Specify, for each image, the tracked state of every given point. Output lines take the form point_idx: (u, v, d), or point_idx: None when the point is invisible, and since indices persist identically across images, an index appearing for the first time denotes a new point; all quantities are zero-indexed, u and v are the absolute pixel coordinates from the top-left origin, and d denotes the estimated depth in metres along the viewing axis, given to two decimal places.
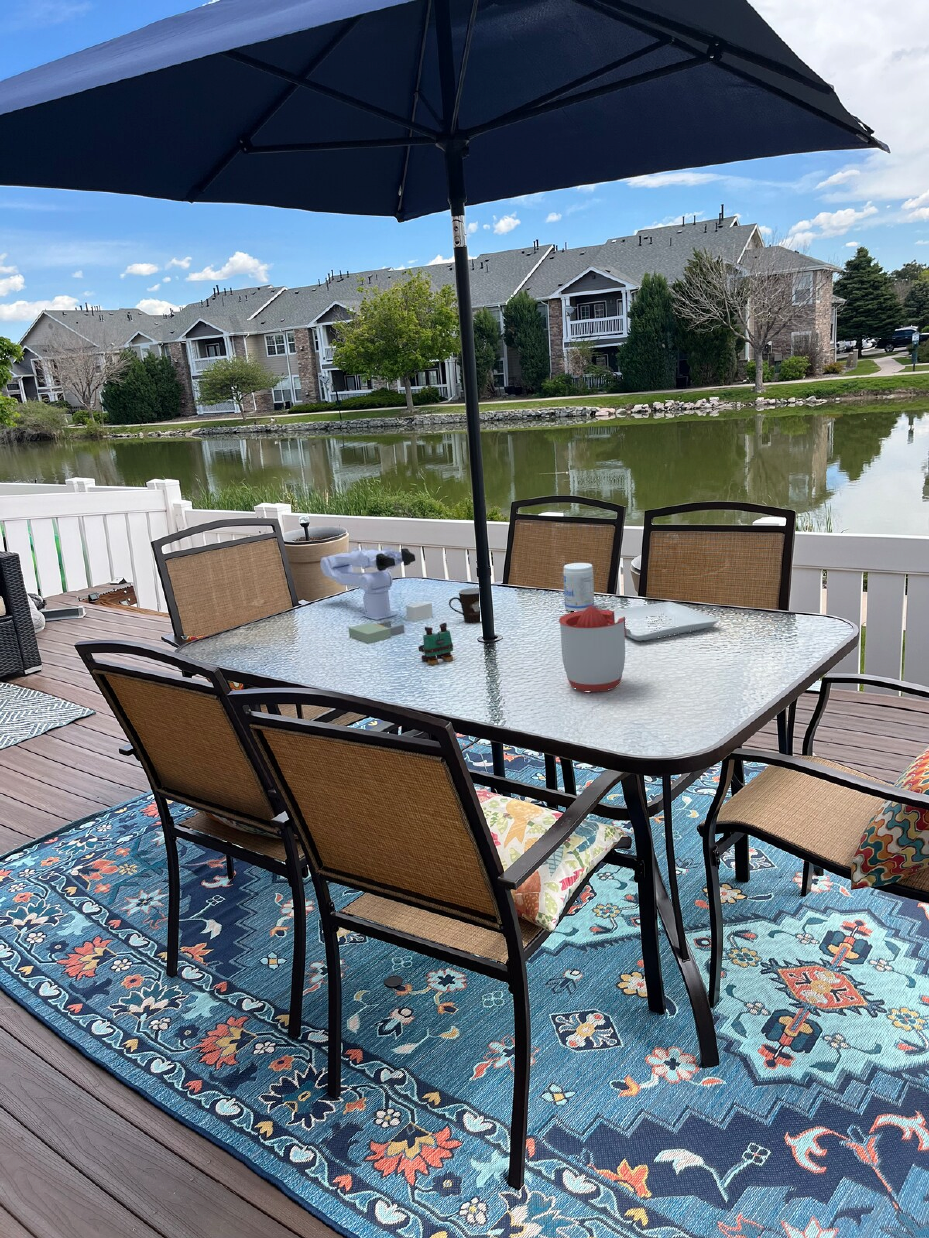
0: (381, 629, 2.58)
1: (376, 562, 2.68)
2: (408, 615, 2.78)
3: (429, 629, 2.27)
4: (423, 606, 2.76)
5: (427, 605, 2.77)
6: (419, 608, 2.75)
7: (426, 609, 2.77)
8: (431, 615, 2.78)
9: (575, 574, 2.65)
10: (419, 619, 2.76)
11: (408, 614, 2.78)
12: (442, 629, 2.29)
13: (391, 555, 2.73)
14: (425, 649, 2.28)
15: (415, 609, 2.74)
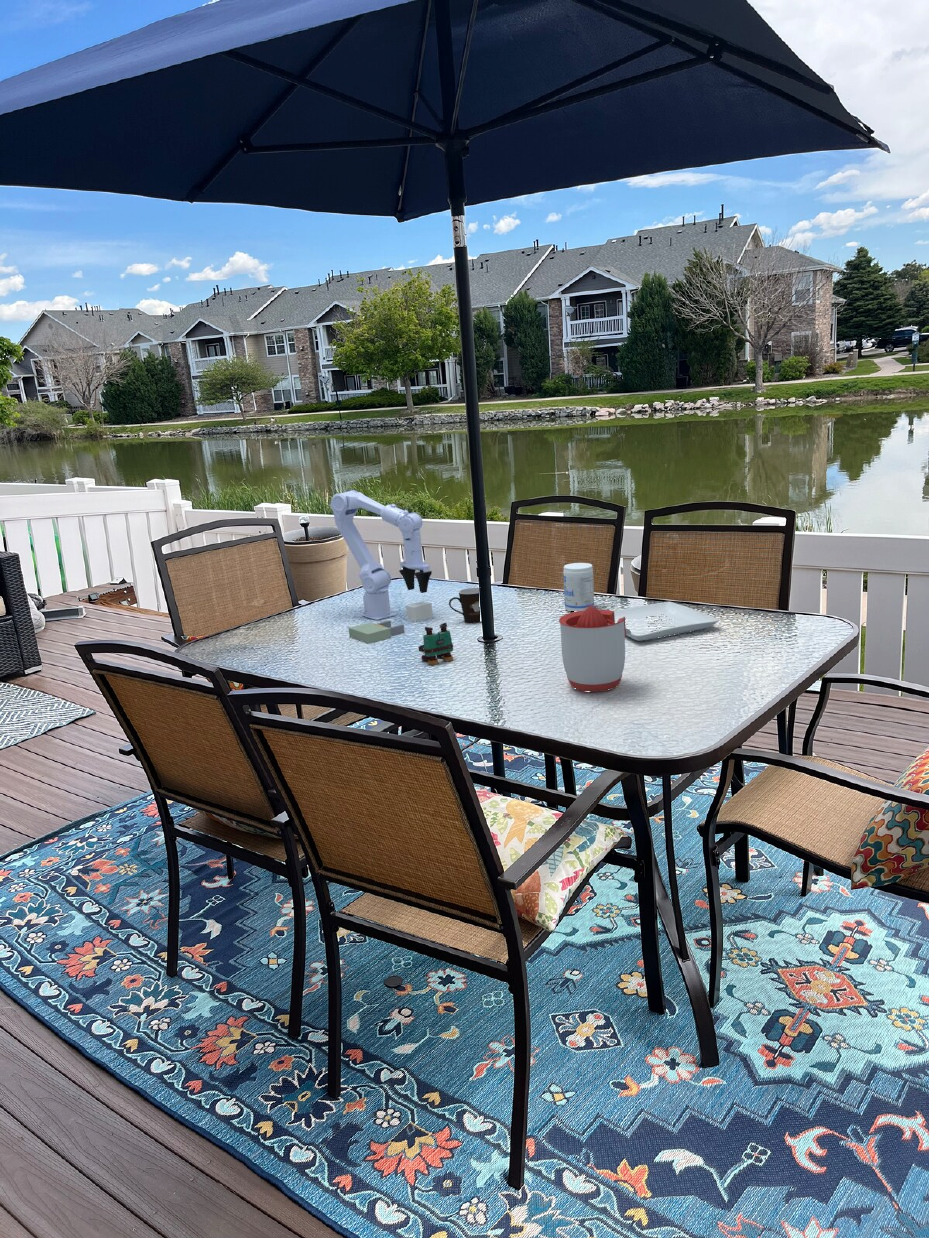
0: (381, 629, 2.58)
1: (426, 572, 2.70)
2: (408, 615, 2.78)
3: (429, 629, 2.27)
4: (423, 606, 2.76)
5: (427, 605, 2.77)
6: (419, 608, 2.75)
7: (426, 609, 2.77)
8: (431, 615, 2.79)
9: (575, 574, 2.65)
10: (419, 619, 2.76)
11: (408, 614, 2.78)
12: (442, 629, 2.29)
13: None
14: (425, 649, 2.28)
15: (415, 609, 2.74)
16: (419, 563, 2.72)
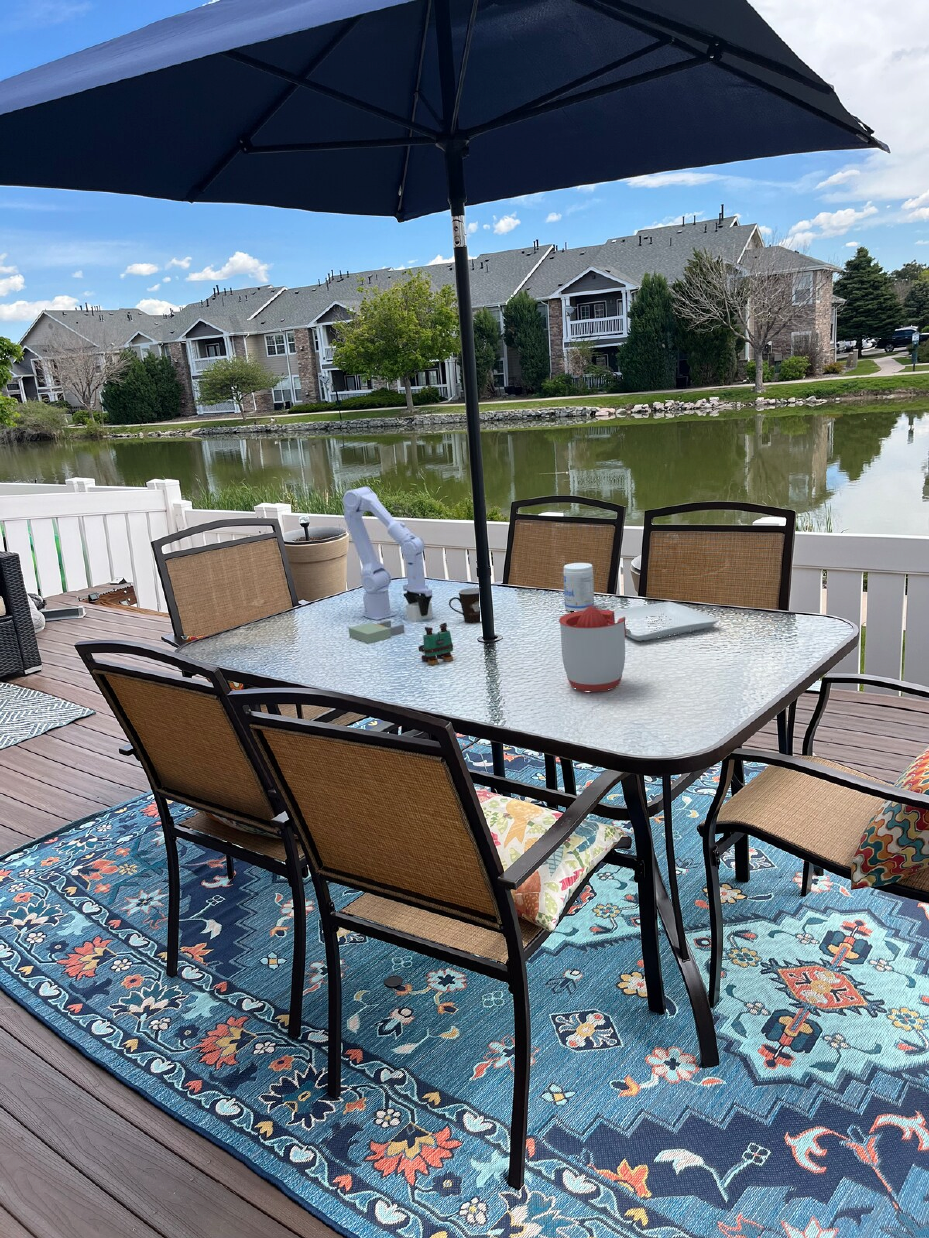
0: (381, 629, 2.58)
1: (426, 596, 2.73)
2: (408, 614, 2.78)
3: (429, 629, 2.27)
4: None
5: None
6: (419, 608, 2.75)
7: None
8: (431, 615, 2.78)
9: (575, 574, 2.65)
10: (419, 619, 2.76)
11: (408, 613, 2.78)
12: (442, 629, 2.29)
13: None
14: (425, 649, 2.28)
15: (415, 609, 2.74)
16: (421, 587, 2.74)
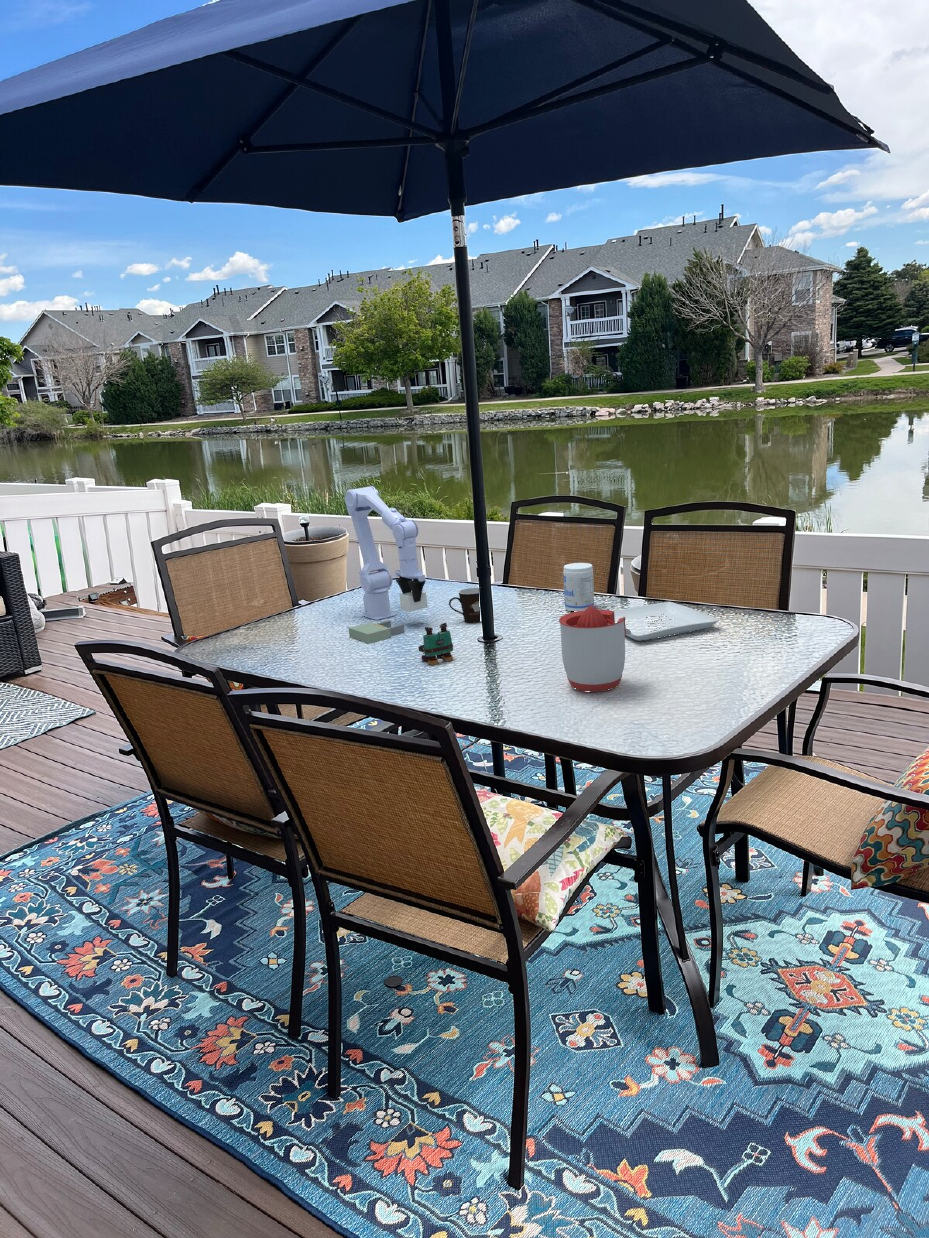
0: (381, 629, 2.58)
1: (419, 581, 2.63)
2: (402, 604, 2.68)
3: (429, 629, 2.27)
4: None
5: None
6: None
7: None
8: (426, 605, 2.69)
9: (575, 574, 2.65)
10: (413, 609, 2.66)
11: (402, 603, 2.68)
12: (442, 629, 2.29)
13: None
14: (425, 649, 2.28)
15: (409, 598, 2.65)
16: (414, 572, 2.64)
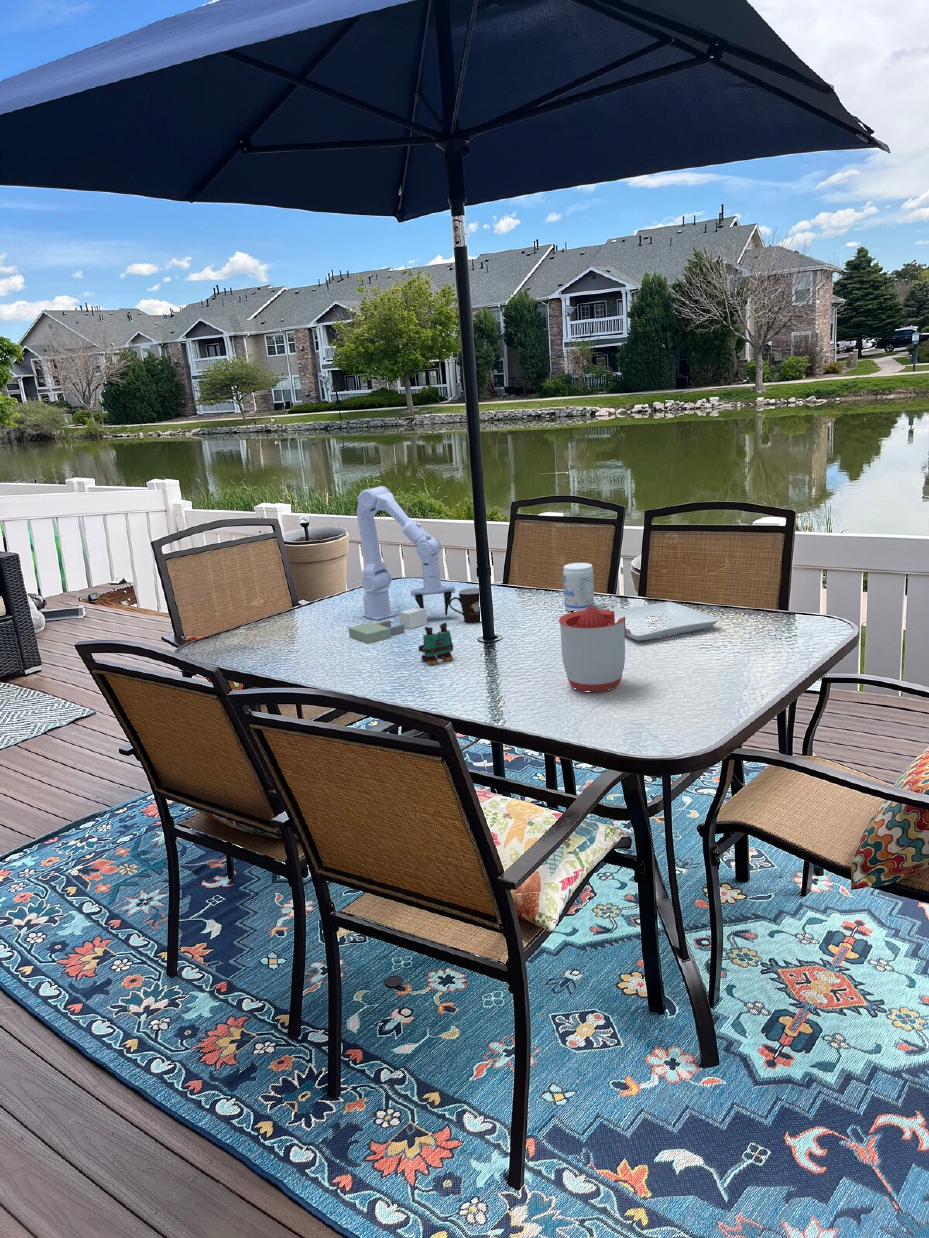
0: (381, 629, 2.58)
1: None
2: (402, 621, 2.69)
3: (429, 629, 2.27)
4: (417, 612, 2.68)
5: (421, 611, 2.69)
6: (413, 614, 2.67)
7: (420, 615, 2.69)
8: (426, 621, 2.70)
9: (575, 574, 2.65)
10: (414, 625, 2.67)
11: (402, 620, 2.69)
12: (442, 629, 2.29)
13: None
14: (425, 649, 2.28)
15: (409, 615, 2.66)
16: (441, 586, 2.73)
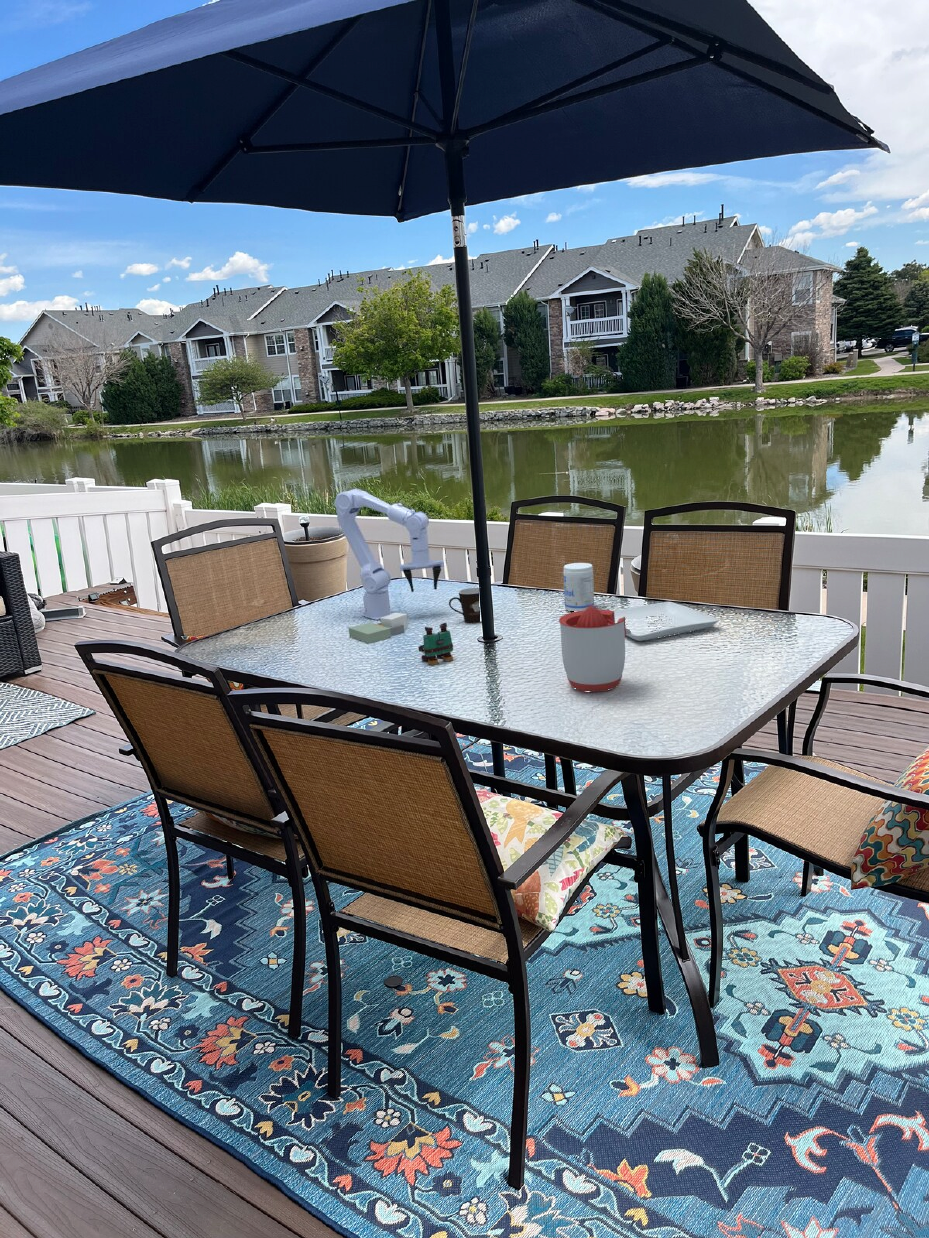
0: (381, 629, 2.58)
1: None
2: None
3: (429, 629, 2.27)
4: (399, 617, 2.64)
5: (403, 616, 2.65)
6: (396, 620, 2.63)
7: (402, 620, 2.65)
8: (407, 626, 2.67)
9: (575, 574, 2.65)
10: None
11: None
12: (442, 629, 2.29)
13: None
14: (425, 649, 2.28)
15: (392, 621, 2.62)
16: (429, 560, 2.75)
